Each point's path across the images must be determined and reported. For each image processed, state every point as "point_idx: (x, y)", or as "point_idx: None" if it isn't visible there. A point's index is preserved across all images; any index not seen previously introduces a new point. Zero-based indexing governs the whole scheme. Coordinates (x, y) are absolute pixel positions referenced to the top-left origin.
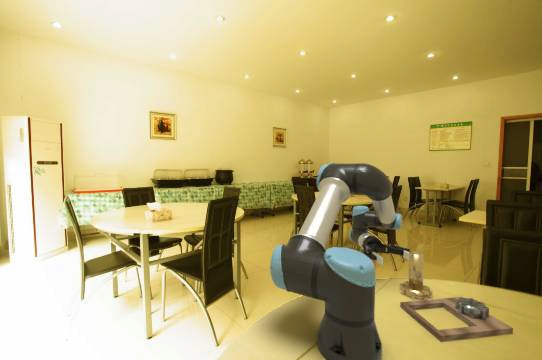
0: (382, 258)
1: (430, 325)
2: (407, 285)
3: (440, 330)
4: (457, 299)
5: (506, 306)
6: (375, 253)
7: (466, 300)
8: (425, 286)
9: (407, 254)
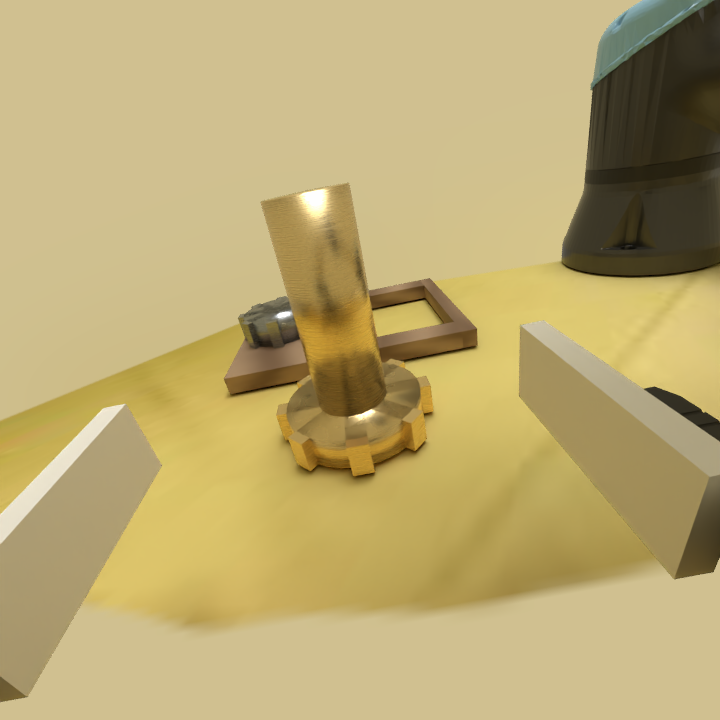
0: (531, 325)
1: (433, 289)
2: (382, 406)
3: (420, 285)
4: None
5: (119, 396)
6: (654, 420)
7: (273, 314)
8: (291, 409)
9: (56, 526)
